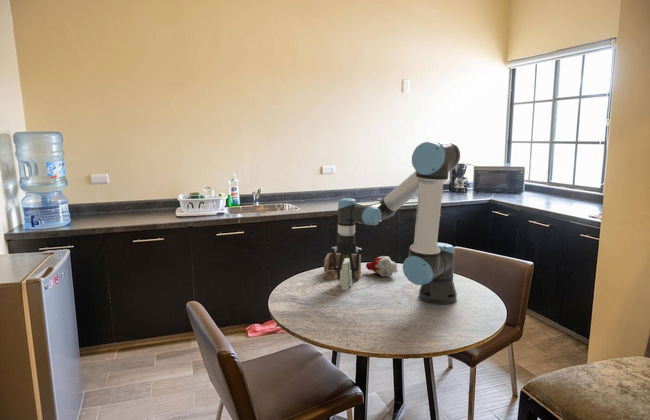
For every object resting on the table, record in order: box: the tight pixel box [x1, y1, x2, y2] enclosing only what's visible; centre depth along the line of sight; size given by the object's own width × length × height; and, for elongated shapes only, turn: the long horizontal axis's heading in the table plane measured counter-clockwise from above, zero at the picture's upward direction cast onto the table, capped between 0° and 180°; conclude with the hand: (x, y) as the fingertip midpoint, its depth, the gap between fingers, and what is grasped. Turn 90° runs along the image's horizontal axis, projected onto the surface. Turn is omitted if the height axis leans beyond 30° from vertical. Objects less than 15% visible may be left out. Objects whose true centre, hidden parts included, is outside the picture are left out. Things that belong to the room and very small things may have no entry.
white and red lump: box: [365, 255, 398, 277], centre depth 213 cm, size 9×11×15 cm
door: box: [341, 258, 350, 291], centre depth 197 cm, size 11×2×11 cm, turn 171°
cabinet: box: [323, 252, 362, 282], centre depth 210 cm, size 16×13×9 cm
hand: (346, 284), depth 198 cm, fingers open, 4 cm apart
